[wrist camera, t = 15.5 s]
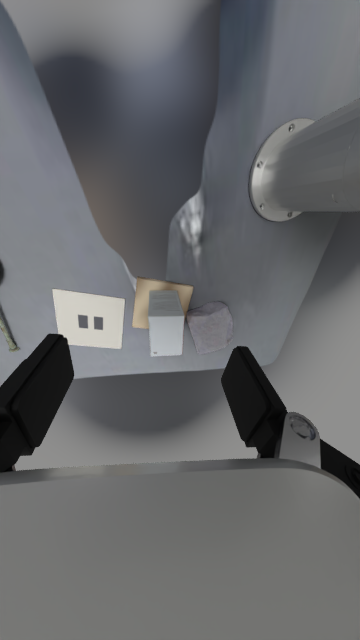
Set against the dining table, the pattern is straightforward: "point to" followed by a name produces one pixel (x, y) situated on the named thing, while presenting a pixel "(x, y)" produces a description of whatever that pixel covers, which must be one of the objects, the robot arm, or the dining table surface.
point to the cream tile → (89, 318)
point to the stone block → (210, 327)
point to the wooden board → (143, 298)
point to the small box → (165, 323)
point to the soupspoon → (8, 338)
